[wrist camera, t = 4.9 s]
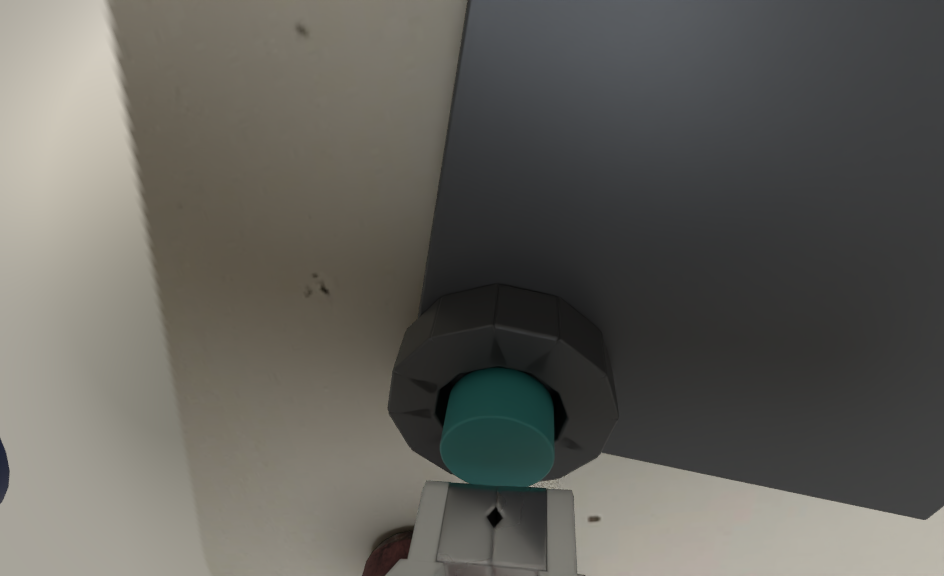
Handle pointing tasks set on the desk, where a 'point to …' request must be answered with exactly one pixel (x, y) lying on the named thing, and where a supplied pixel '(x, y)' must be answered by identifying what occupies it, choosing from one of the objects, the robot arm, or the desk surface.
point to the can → (388, 554)
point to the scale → (699, 239)
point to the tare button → (499, 429)
